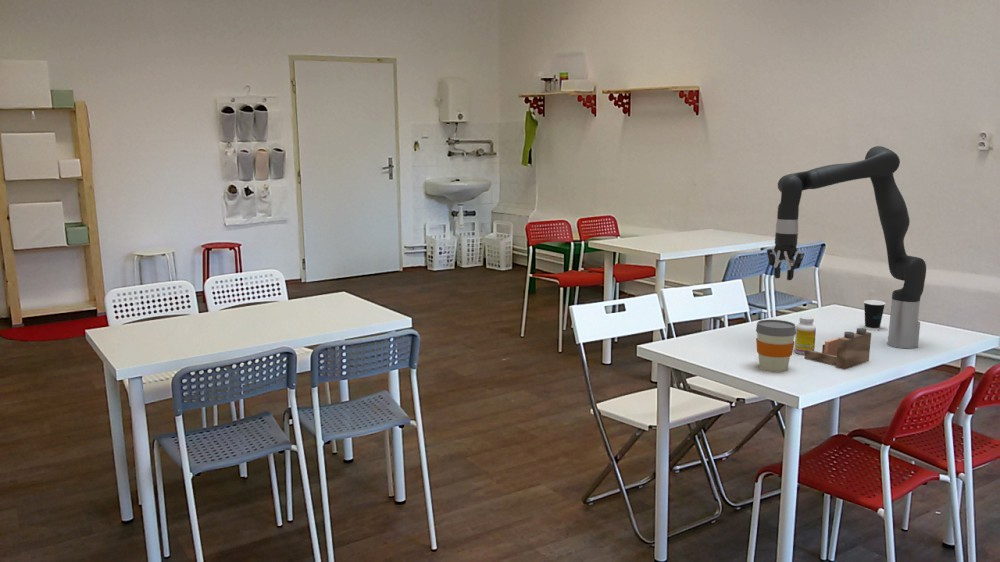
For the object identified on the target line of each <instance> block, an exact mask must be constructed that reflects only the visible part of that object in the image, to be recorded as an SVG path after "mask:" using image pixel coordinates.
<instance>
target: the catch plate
mask: <svg viewBox="0 0 1000 562" xmlns="http://www.w3.org/2000/svg"><path fill="white" fill-rule="evenodd" d="M838 338H839V337H835V338H832V339H828V340H826V341H824V344H825V349H824V353H825V354H830V355H834V356H837V350H838Z"/></svg>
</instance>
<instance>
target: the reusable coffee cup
mask: <svg viewBox="0 0 1000 562" xmlns="http://www.w3.org/2000/svg"><path fill="white" fill-rule="evenodd" d="M796 326H797V325H796V324H795V323H793V322H791V321H787V320H780V319H761V320H758V321H757V322H756V328H755V332H756V338H755V342H756V343H755V344H756V352H757V354H758V367H759V368H760V369H761V368H762V369H761V370H764V369H765V370H764V371H769V372H776V371H780V372H785V370H786V371H787V370H788V368H789V363H790V359H791V356H792V355H793V351H794V348H795V334H796Z"/></svg>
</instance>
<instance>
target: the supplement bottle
mask: <svg viewBox="0 0 1000 562" xmlns="http://www.w3.org/2000/svg"><path fill="white" fill-rule="evenodd" d="M814 320H815V319H814V317H812V316H803V315H802V316H799V323H797V324H796V325H795V326H796V334H795V335H794V347H793V351H794V353H796V354H798V355H804V356H805V350H807V349H808V350H812V351H815V345H816V331H817V327H816V326H815V325H814V322H815V321H814Z"/></svg>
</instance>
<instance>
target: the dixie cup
mask: <svg viewBox="0 0 1000 562" xmlns="http://www.w3.org/2000/svg"><path fill="white" fill-rule="evenodd" d="M863 303H864V304H863V305H864V327H865V329H866V331H867V330H868V331H872V330H874V331H876V330H877V331H879V330H880V328H881V324H882V318H883V314H884V309H885V306H886V302H884V301H881V300H876V299H873V300H872V299H871V300H870V299H869V300H866V299H865V300H863ZM877 331H876V332H877Z"/></svg>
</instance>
